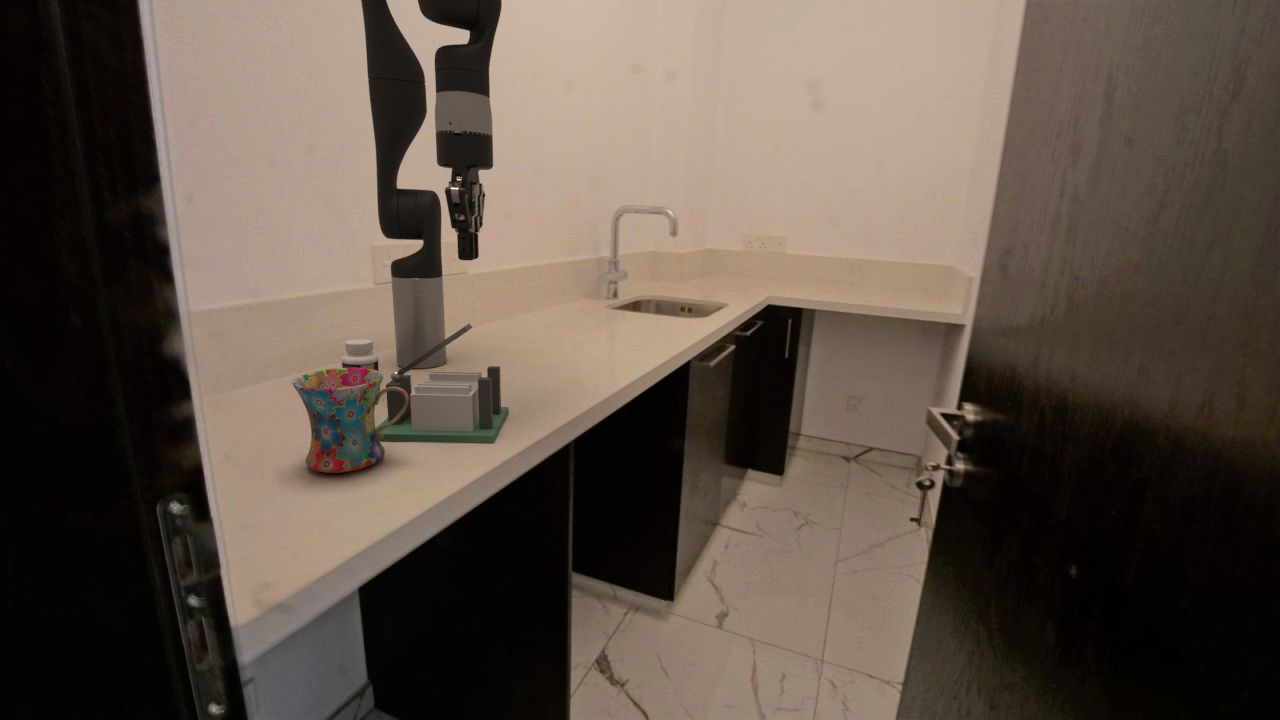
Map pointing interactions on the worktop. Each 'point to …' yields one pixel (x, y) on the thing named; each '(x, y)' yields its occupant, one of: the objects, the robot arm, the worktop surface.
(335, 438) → the mug
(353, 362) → the pill bottle
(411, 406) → the heatsink base
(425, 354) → the strap
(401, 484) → the worktop surface
